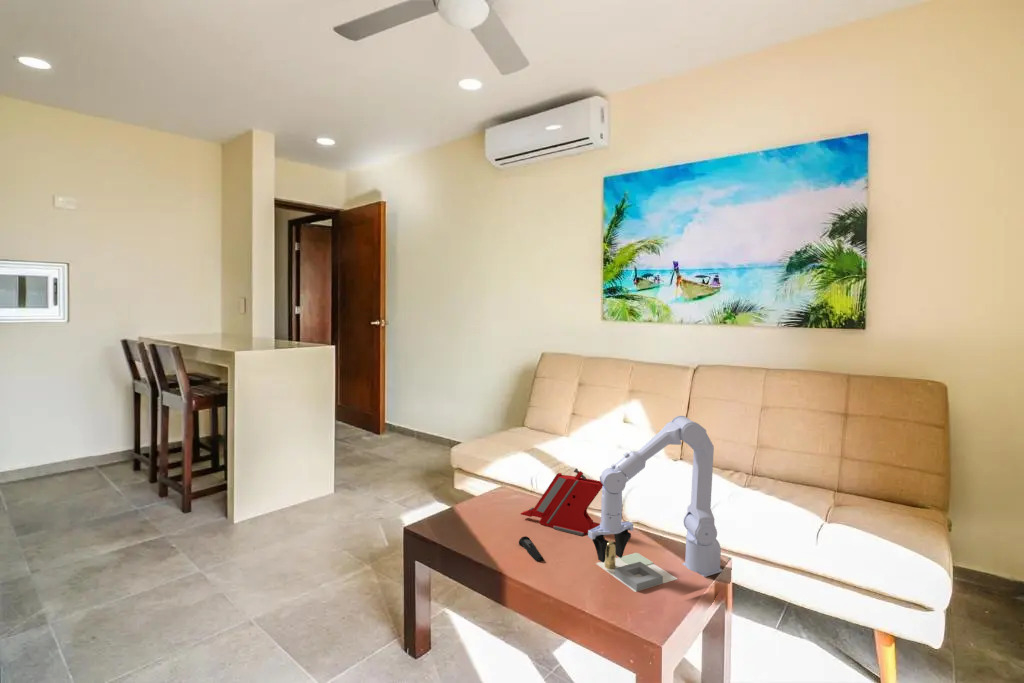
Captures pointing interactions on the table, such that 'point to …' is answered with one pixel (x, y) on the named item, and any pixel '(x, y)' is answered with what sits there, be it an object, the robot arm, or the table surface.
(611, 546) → the brass cylinder
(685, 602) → the table surface
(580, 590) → the table surface
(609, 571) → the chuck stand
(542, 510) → the tool
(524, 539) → the electric trimmer
